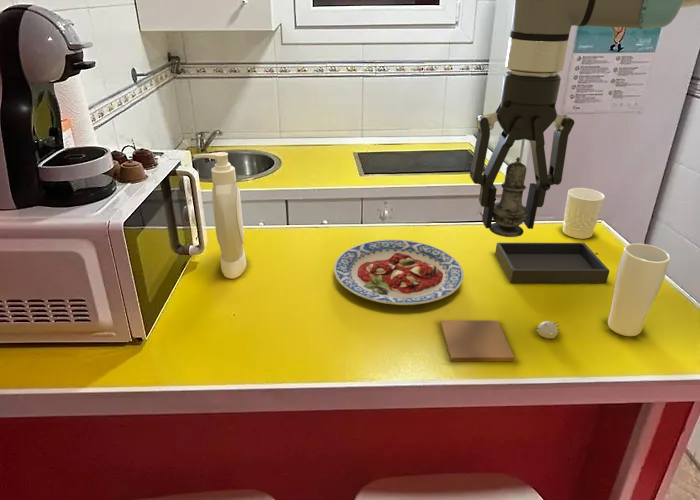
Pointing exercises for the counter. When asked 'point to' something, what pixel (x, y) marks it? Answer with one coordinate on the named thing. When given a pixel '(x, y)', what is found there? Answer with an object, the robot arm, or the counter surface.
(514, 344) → the counter surface
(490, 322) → the cork mat
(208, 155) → the soap bottle
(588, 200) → the white cup
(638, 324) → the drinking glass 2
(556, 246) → the tray
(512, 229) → the salt shaker
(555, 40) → the robot arm
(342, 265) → the ceramic plate
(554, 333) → the cream rounded lump
